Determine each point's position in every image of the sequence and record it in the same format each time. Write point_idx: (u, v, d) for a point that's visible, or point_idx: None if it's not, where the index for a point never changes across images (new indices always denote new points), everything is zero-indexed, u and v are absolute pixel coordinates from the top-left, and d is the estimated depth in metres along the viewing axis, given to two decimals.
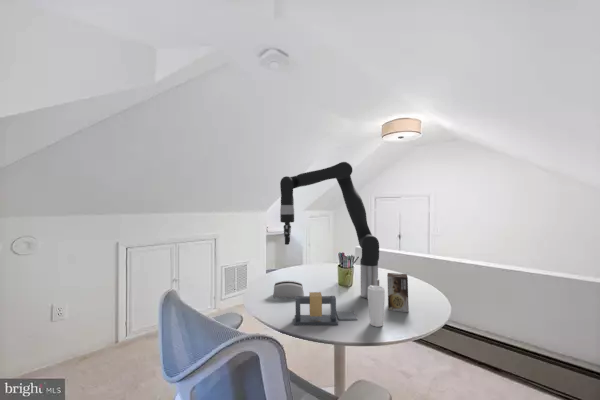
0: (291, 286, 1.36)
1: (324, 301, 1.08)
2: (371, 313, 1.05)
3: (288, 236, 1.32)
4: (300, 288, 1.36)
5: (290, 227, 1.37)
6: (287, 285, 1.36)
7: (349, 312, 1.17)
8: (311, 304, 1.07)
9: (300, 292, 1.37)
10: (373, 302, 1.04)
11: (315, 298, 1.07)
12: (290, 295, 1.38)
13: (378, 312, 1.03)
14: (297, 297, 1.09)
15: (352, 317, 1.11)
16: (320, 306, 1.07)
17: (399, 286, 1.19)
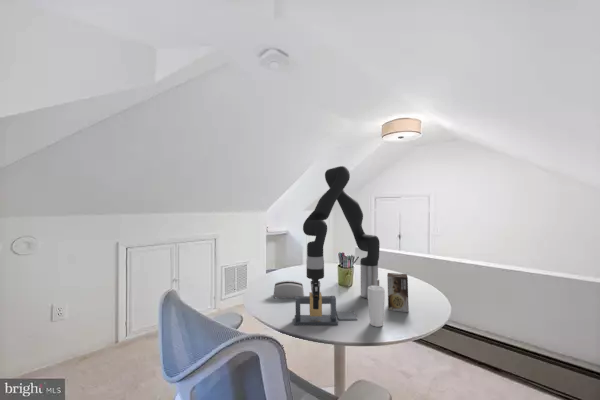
0: (291, 286, 1.36)
1: (324, 301, 1.08)
2: (371, 313, 1.05)
3: (318, 300, 1.04)
4: (300, 288, 1.36)
5: (319, 285, 1.08)
6: (287, 285, 1.36)
7: (349, 312, 1.17)
8: (311, 304, 1.07)
9: (300, 292, 1.37)
10: (373, 302, 1.04)
11: None
12: (290, 295, 1.37)
13: (378, 312, 1.03)
14: (297, 297, 1.09)
15: (352, 317, 1.11)
16: (320, 306, 1.07)
17: (399, 286, 1.19)
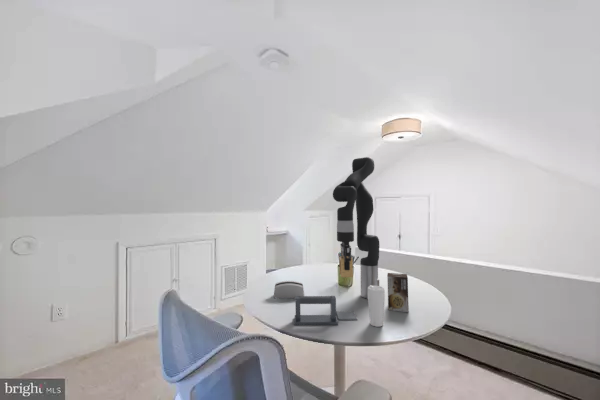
0: (292, 286, 1.35)
1: (324, 301, 1.08)
2: (371, 313, 1.05)
3: None
4: (301, 288, 1.36)
5: (350, 248, 1.13)
6: (288, 285, 1.35)
7: (349, 312, 1.17)
8: (342, 265, 1.12)
9: (301, 292, 1.37)
10: (373, 302, 1.04)
11: None
12: (291, 295, 1.37)
13: (378, 312, 1.03)
14: (297, 297, 1.09)
15: (352, 317, 1.11)
16: (351, 267, 1.12)
17: (399, 286, 1.19)
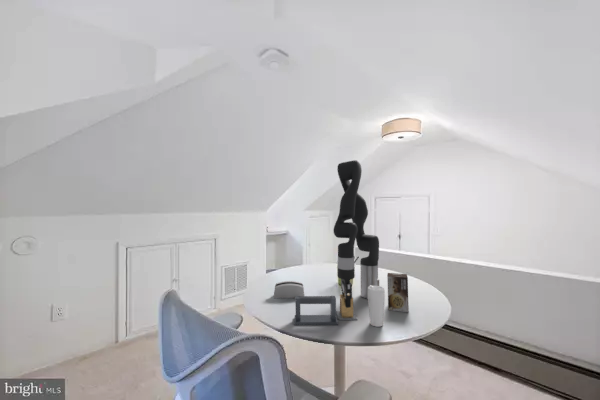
0: (292, 286, 1.35)
1: (324, 301, 1.08)
2: (371, 313, 1.05)
3: (351, 298, 1.08)
4: (301, 288, 1.36)
5: None
6: (288, 285, 1.35)
7: None
8: (343, 306, 1.12)
9: (301, 292, 1.37)
10: (373, 302, 1.04)
11: None
12: (291, 295, 1.37)
13: (378, 312, 1.03)
14: (297, 297, 1.09)
15: None
16: (351, 308, 1.12)
17: (399, 286, 1.19)
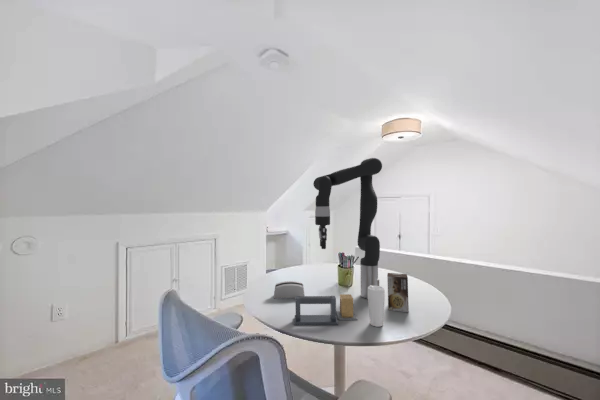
0: (293, 286, 1.35)
1: (324, 301, 1.08)
2: (371, 313, 1.05)
3: (325, 240, 1.23)
4: (302, 288, 1.36)
5: (326, 230, 1.28)
6: (289, 286, 1.35)
7: None
8: (343, 306, 1.12)
9: (301, 292, 1.37)
10: (373, 302, 1.04)
11: (347, 300, 1.12)
12: (291, 296, 1.37)
13: (378, 312, 1.03)
14: (297, 297, 1.09)
15: None
16: (351, 308, 1.12)
17: (399, 286, 1.19)
